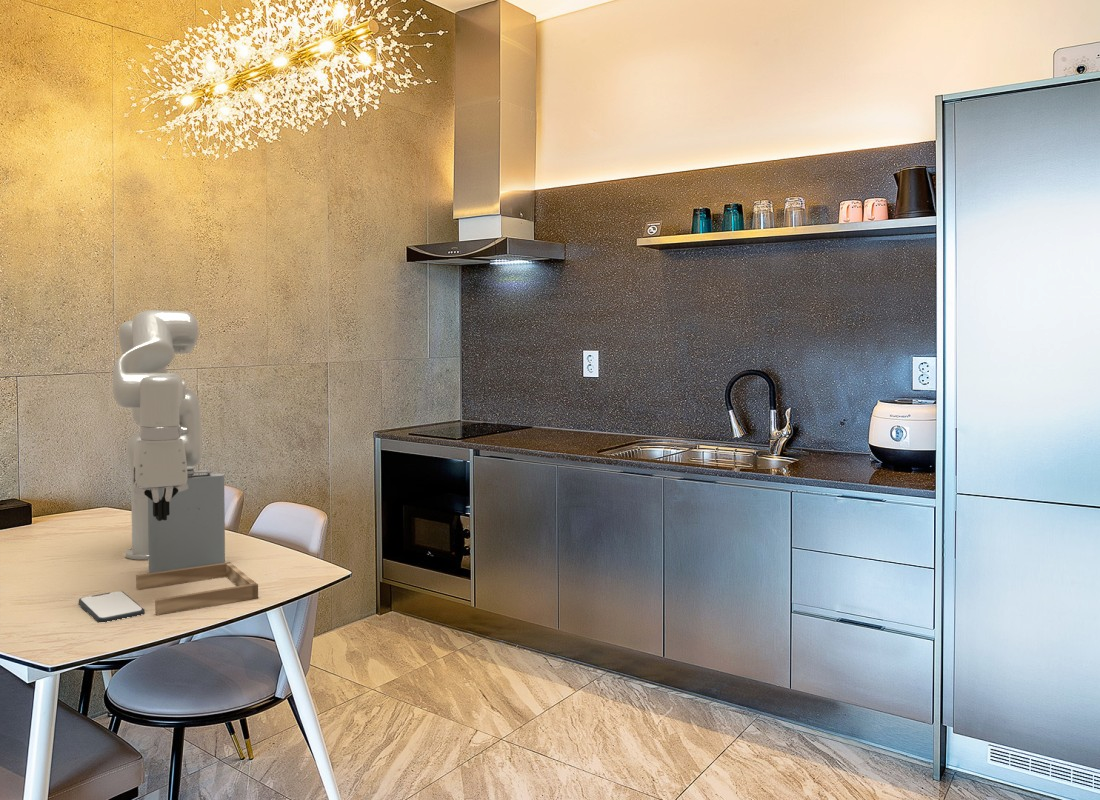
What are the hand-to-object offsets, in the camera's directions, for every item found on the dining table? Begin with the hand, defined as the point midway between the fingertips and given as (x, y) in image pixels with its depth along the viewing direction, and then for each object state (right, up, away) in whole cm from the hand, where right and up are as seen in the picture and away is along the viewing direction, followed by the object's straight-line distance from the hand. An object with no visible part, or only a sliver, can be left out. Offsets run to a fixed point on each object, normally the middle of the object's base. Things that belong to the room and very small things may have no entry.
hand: (161, 519), depth 176 cm
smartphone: (-7, -18, -6) cm, 21 cm away
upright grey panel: (-5, -16, +23) cm, 29 cm away
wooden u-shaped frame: (+5, -17, +5) cm, 19 cm away
